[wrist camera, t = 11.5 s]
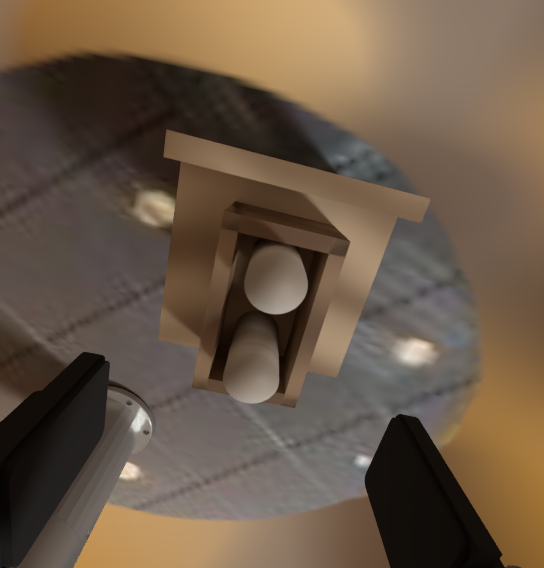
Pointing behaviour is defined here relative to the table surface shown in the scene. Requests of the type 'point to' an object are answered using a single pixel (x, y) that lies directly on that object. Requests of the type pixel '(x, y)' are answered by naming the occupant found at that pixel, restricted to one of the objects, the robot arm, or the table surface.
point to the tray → (236, 301)
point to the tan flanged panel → (282, 198)
